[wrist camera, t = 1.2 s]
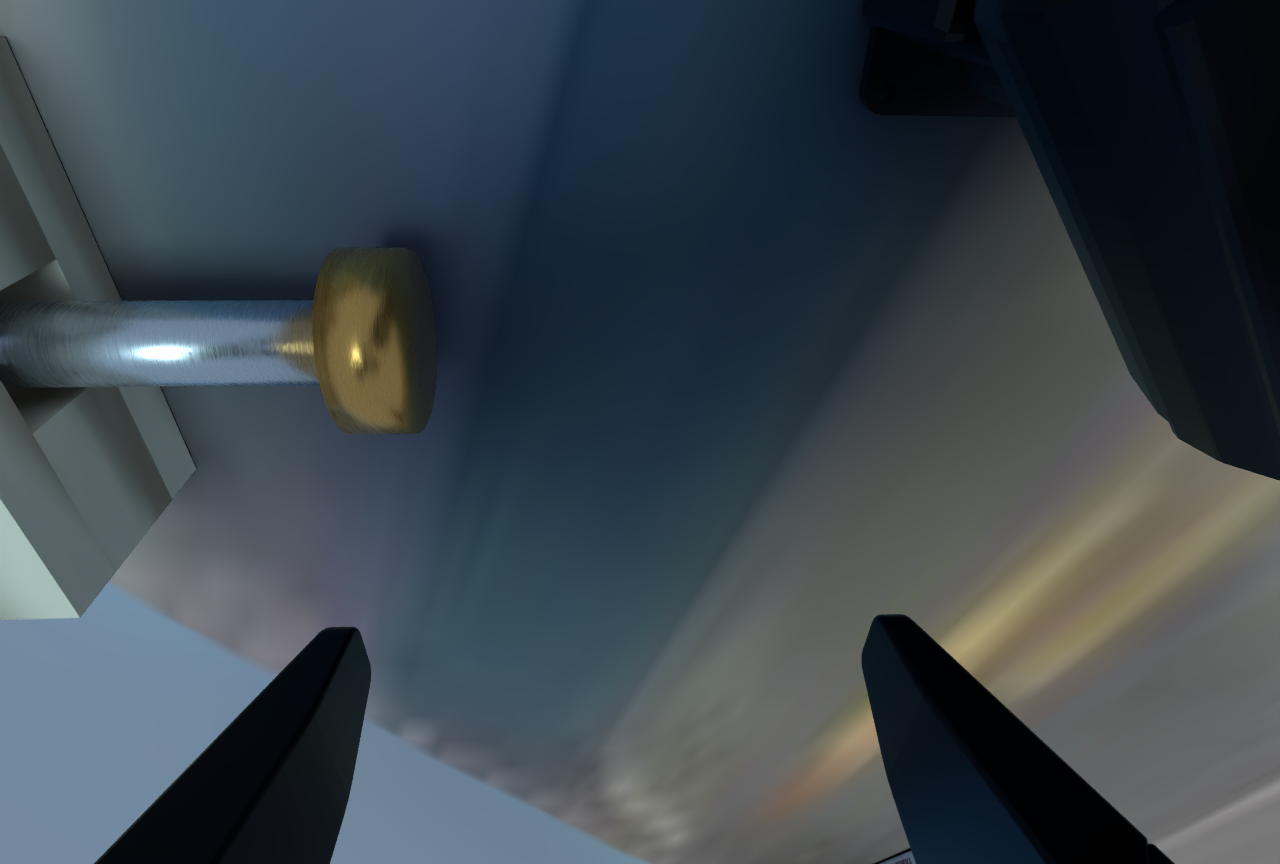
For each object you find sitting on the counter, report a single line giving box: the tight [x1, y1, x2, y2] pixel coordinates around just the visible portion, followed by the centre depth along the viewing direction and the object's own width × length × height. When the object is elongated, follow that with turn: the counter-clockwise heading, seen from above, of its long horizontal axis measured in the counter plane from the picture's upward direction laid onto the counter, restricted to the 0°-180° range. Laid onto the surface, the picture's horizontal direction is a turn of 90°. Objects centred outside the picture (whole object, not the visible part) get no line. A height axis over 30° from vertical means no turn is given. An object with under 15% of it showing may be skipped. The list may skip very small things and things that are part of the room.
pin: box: [0, 248, 437, 434], centre depth 16 cm, size 12×4×4 cm, turn 89°
